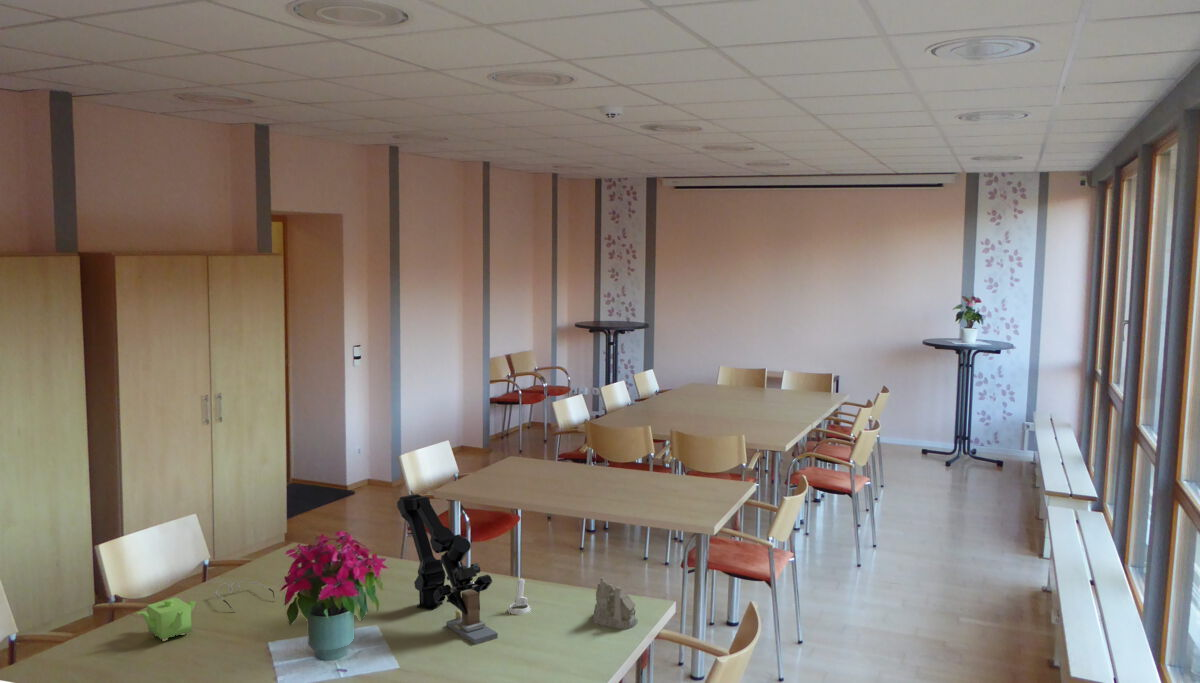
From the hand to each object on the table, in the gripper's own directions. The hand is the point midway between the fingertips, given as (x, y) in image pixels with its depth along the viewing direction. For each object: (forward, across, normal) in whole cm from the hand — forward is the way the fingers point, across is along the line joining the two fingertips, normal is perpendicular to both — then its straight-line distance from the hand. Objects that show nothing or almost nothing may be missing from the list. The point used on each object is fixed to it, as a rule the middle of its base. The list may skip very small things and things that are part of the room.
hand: (472, 612), depth 286 cm
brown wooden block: (+2, 0, +4) cm, 5 cm away
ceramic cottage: (+19, +42, -9) cm, 47 cm away
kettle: (-36, -75, +46) cm, 95 cm away
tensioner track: (+4, 0, +5) cm, 7 cm away
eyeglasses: (-47, -48, +58) cm, 88 cm away
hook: (0, +21, +9) cm, 23 cm away
